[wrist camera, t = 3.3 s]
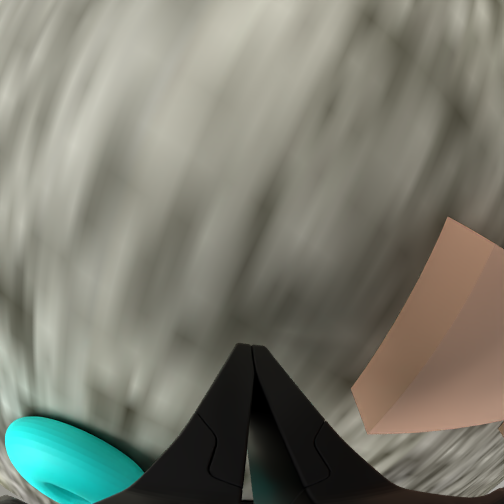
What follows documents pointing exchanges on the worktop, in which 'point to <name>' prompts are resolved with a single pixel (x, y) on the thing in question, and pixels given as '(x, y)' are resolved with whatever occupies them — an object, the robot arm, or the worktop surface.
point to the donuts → (68, 461)
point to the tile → (442, 344)
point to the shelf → (502, 429)
